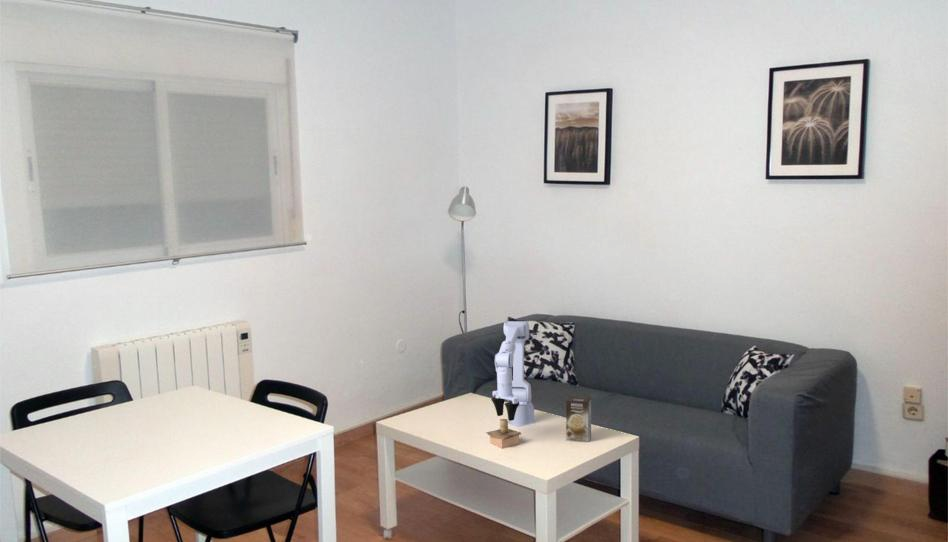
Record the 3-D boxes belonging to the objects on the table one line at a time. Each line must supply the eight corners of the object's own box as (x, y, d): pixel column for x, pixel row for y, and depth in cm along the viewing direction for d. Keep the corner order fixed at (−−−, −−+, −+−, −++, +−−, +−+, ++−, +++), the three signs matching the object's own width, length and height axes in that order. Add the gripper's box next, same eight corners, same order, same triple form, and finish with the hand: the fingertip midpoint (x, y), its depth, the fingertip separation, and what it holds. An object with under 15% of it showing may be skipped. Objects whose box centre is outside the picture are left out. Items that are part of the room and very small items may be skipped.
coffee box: (565, 440, 299) (564, 400, 298) (569, 435, 305) (568, 396, 304) (589, 442, 296) (588, 401, 295) (592, 437, 302) (591, 397, 301)
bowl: (507, 440, 302) (507, 430, 302) (519, 445, 295) (518, 435, 295) (490, 444, 298) (490, 434, 297) (502, 449, 291) (501, 439, 291)
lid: (504, 429, 302) (504, 415, 302) (520, 434, 296) (520, 419, 295) (487, 434, 297) (487, 420, 296) (503, 440, 290) (503, 425, 289)
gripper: (485, 381, 299) (486, 415, 301) (506, 389, 287) (507, 424, 289) (500, 378, 303) (501, 412, 304) (522, 385, 291) (523, 420, 292)
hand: (505, 417), depth 297 cm, fingers open, 7 cm apart
